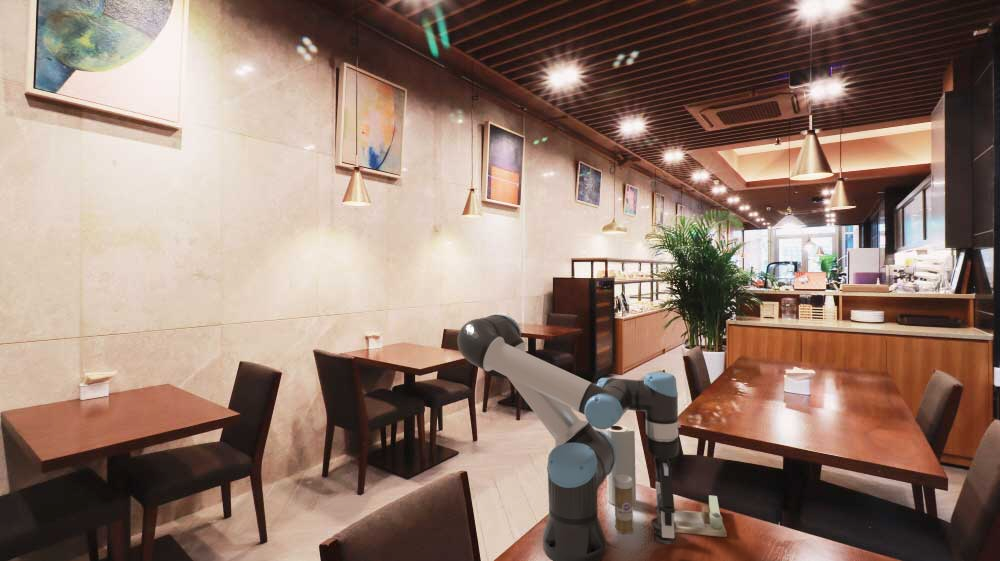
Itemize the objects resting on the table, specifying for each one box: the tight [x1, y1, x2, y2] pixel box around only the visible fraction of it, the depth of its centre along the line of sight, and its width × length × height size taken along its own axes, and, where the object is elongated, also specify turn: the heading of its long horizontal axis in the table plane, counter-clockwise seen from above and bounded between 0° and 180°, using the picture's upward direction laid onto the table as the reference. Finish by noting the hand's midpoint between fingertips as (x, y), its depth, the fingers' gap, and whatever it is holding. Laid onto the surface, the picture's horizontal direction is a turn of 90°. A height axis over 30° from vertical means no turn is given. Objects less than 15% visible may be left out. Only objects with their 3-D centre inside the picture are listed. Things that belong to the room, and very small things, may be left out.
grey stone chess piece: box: [651, 493, 676, 545], centre depth 116 cm, size 6×6×12 cm
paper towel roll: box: [605, 424, 637, 506], centre depth 134 cm, size 7×6×21 cm
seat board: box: [674, 505, 728, 538], centre depth 122 cm, size 12×9×4 cm
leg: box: [708, 494, 723, 529], centre depth 123 cm, size 12×3×3 cm, turn 159°
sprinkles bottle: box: [614, 475, 634, 534], centre depth 120 cm, size 5×5×14 cm
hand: (664, 521), depth 116 cm, fingers open, 13 cm apart
